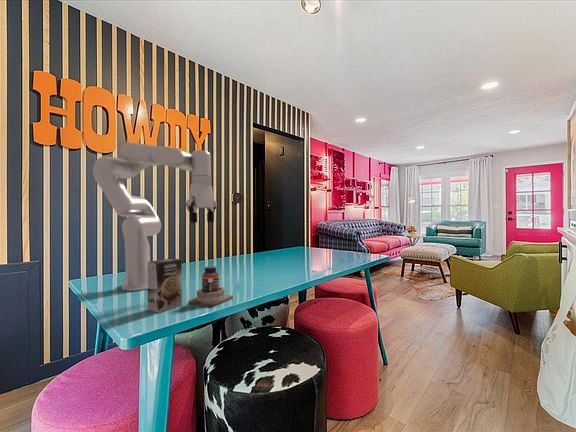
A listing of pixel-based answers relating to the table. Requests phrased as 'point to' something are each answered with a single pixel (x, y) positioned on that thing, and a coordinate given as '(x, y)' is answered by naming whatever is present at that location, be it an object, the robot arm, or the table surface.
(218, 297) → the socket collar
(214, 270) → the supplement bottle
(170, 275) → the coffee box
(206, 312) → the table surface
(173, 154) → the robot arm
